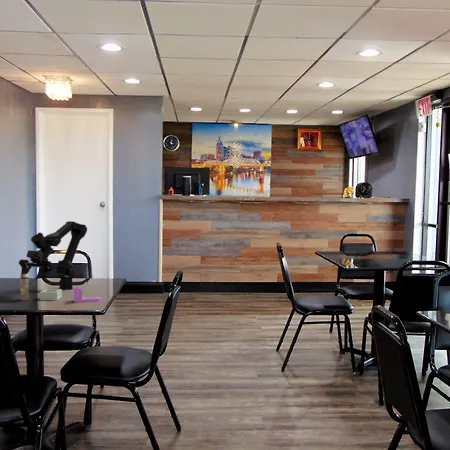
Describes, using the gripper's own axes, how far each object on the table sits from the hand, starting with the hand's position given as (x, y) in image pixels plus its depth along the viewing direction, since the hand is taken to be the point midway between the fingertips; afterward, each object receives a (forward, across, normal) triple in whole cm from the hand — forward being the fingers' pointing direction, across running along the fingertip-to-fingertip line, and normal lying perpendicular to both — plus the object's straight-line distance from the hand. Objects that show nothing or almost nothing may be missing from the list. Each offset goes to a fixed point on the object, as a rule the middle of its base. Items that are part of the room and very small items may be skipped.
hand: (28, 278), depth 255 cm
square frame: (+5, +11, +10) cm, 15 cm away
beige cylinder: (+9, 0, +5) cm, 11 cm away
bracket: (+3, +31, +12) cm, 33 cm away
